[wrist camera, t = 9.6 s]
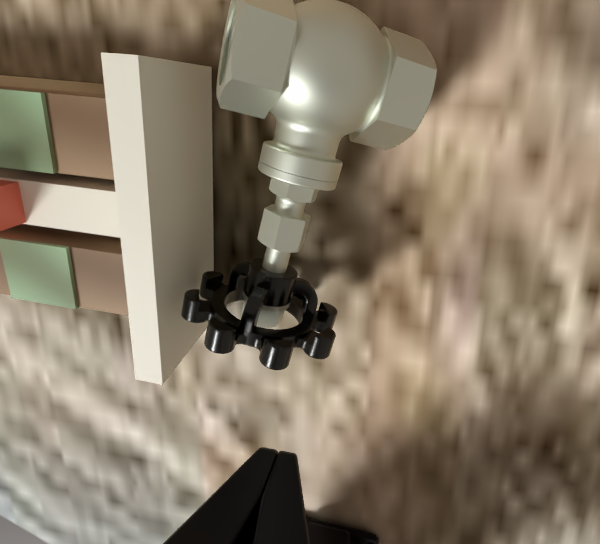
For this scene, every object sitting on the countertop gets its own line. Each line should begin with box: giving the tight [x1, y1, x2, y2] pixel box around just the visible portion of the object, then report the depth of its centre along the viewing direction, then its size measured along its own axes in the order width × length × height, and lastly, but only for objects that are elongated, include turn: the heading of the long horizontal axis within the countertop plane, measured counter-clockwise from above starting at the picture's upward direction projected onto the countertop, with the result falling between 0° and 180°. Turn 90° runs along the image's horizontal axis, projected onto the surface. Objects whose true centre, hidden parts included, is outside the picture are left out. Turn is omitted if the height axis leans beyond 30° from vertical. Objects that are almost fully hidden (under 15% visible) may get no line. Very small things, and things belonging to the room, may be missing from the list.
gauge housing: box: [0, 75, 129, 316], centre depth 19 cm, size 10×11×4 cm
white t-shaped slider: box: [0, 52, 214, 385], centre depth 18 cm, size 12×12×6 cm
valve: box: [181, 0, 437, 370], centre depth 16 cm, size 7×7×12 cm
